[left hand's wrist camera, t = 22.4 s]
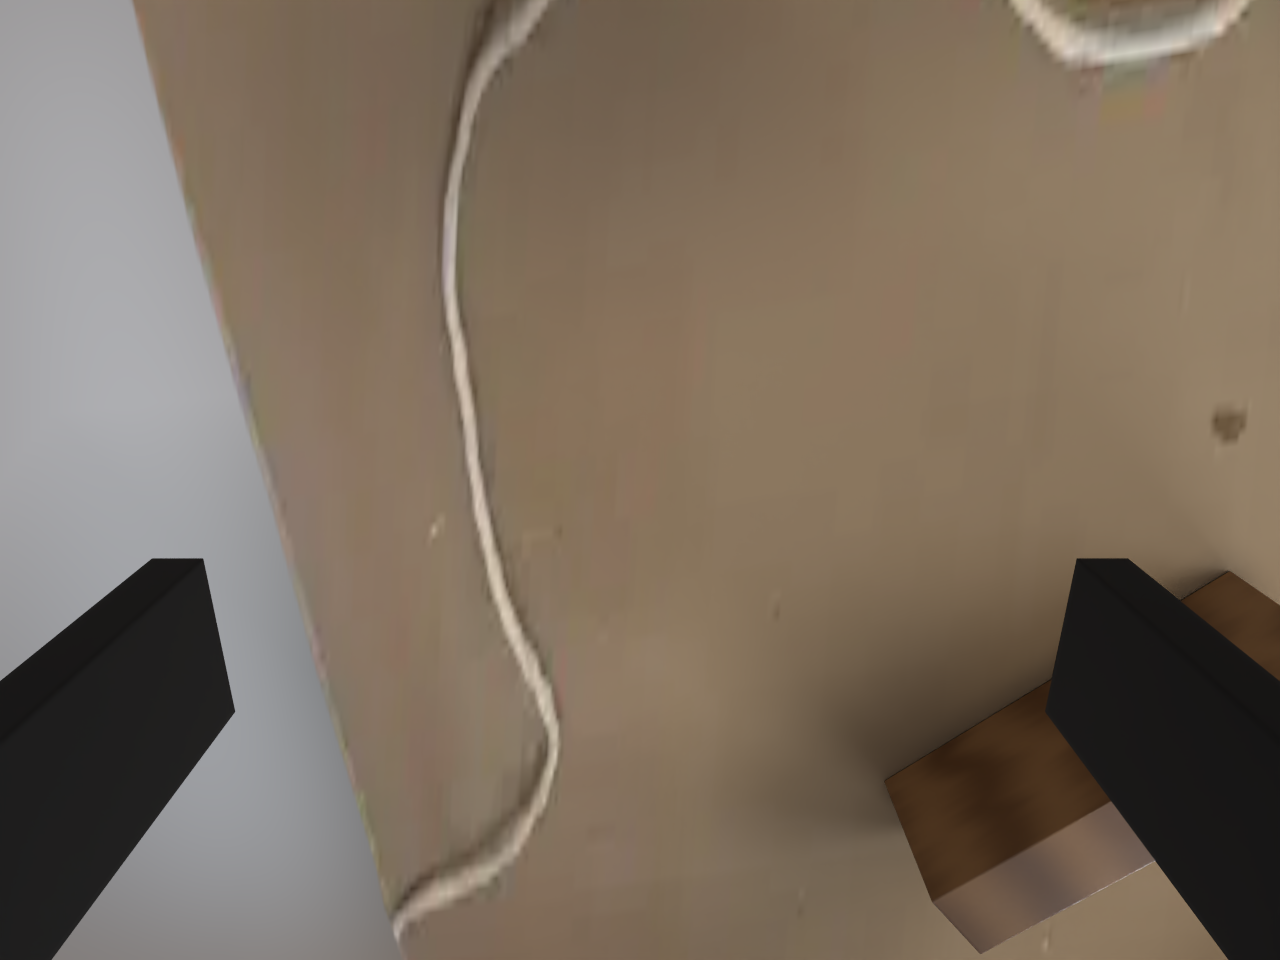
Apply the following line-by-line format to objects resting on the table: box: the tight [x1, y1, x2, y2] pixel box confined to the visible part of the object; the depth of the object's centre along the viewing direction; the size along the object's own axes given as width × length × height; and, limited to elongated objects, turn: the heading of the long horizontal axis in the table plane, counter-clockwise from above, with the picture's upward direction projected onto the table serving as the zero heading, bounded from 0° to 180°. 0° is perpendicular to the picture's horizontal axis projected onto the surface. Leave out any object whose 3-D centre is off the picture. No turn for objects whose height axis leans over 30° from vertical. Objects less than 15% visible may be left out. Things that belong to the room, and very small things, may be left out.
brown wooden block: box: [885, 571, 1280, 954], centre depth 48 cm, size 24×5×10 cm, turn 129°
